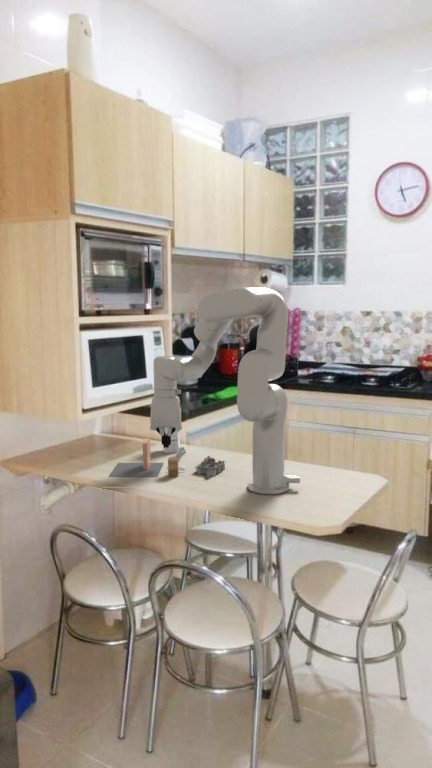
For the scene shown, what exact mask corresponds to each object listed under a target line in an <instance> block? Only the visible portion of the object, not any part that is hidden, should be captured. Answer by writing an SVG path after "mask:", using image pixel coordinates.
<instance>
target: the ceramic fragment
mask: <svg viewBox="0 0 432 768" xmlns="http://www.w3.org/2000/svg"><path fill="white" fill-rule="evenodd" d="M185 453H186V448H185V447H183V446H180V449H179V450H178V452H177V453H174V454H172V455H170V456H169V457H178V463H179V462H180V460H181V458H182V456H183V454H185Z"/></svg>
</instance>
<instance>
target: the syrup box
mask: <svg viewBox="0 0 432 768" xmlns="http://www.w3.org/2000/svg"><path fill="white" fill-rule="evenodd" d="M164 430H165V433H166V435H167V433H168V427H164ZM180 439H181V438H180V430H178V431H175V432H174V433H173V434H172V435H171V445H169V447H168V448H167V447H165V448H163V447H162V448H163V453H167V454H171V453H174V454H176V453H177V452H178V450H179V449H180V448H181V440H180Z"/></svg>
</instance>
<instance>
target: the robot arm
mask: <svg viewBox="0 0 432 768" xmlns="http://www.w3.org/2000/svg"><path fill="white" fill-rule="evenodd" d="M197 313H198V316H199V317H200V319H199V320H198V322H197V323H196V325H195V327H194V329H193V333H194V336H195V337H196V339H197V340H198V341H199V343H198V345H197V347H196V349H195V350H194V351H193V352H192V354H191V355H186V356H182V357H175V356H171V355H160V356H156V357H154V359H153V396H152V397H151V402H150V403H151V404H150V422H149V424H150V427H149V429H150V430H151V431H154V432H157V433H158V434H159V435H160V436H161V445H162V446H163V447H162V448H165V447H167V448H168V447H169V445H171V435H172V434H173V433H174V432H175V431H178V430H179V431H181V430H182V428H183V426H182V407H181V400H180V396H179V395H181V394H182V390H181V389H178V386H177V384H178V382H184V381H188V380H193V379H197V378H200V377H201V376H203V375H204V373H206V371H208V369H209V367H210V366H211V364H212V363H213V362H214V360H215V357H216V354H217V349H218V343H219V341H220V340H221V338H223V335H224V334H225V333H226V331H227V329H229V326H231V324H232V323H233V321H234V320H238V319H246V318H247V319H249V318H257V317H258V318H260V322H259V325H258V328H257V332H256V333H257V335H256V348H255V350H251V351H248V352H247V353H245V354H244V355H243V357H242V358H241V359H240V362H239V364H238V370H237V385H236V386H237V388H236V389H237V392H236V393H237V394H236V405H237V407H236V408H237V410H238V413H239V416H241V417H242V419H244V420H245V421H246V422H250V423H253V425H252V440H251V441H252V442H251V443H252V480H250V481H248V482H247V489H248V490H249V491H250V492H252V493H256V494H261V495H277V494H279V495H280V494H284V493H286V492H287V491H289V490H290V486H291V485H290V484H300V483H301V477H300V476H296V475H295V474H294V475H292V474H291V475H288V474H286V471H285V437H286V436H285V433H286V431H285V427H286V417H287V410H288V395H287V393H286V392H285V390H284V389H283V388H282V387H281V386H280V385H278V384H275V383H269V382H271V381H274V380H277V379H279V378H280V377H282V376H283V374H284V372H285V368H286V357H287V356H286V353H287V336H288V335H287V332H288V323H289V309H288V305H287V303H286V301H285V299H284V297H283V296H282V295H281V294H280V293H279V292H277V291H276V290H273V289H271V288H268V287H264V286H263V287H261V286H260V287H259V286H257V287H256V286H255V287H251V286H250V287H236V288H232V289H226V290H221V291H216V292H208V293H206V294H204V295H203V296H202V297H201V298H200V300H199V301H198V304H197ZM164 427H168V433H167V435H166V433H165V430H164Z"/></svg>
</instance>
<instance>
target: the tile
mask: <svg viewBox="0 0 432 768" xmlns="http://www.w3.org/2000/svg"><path fill="white" fill-rule="evenodd" d="M141 446H142V463H143V469H144V470H148V468H149V466H150V465H151V463H152V460H151V456H152V455H151V439H150V438H145V439H144V440H143V442H142V445H141Z"/></svg>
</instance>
